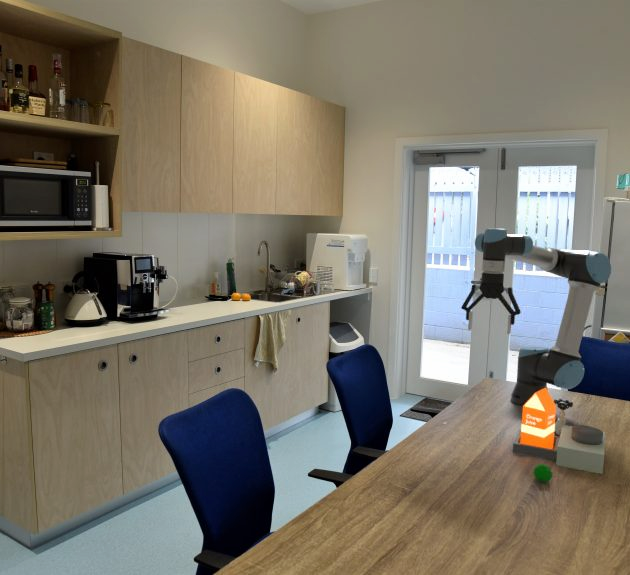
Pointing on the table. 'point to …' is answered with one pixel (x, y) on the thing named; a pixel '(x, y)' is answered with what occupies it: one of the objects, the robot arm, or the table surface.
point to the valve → (561, 414)
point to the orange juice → (539, 420)
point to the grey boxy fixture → (571, 448)
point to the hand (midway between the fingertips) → (489, 331)
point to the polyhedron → (542, 473)
